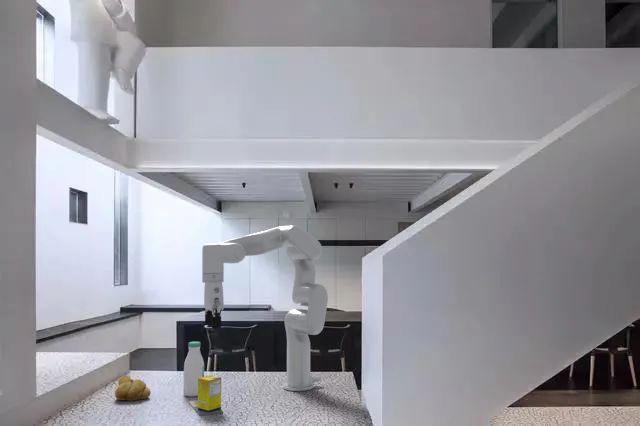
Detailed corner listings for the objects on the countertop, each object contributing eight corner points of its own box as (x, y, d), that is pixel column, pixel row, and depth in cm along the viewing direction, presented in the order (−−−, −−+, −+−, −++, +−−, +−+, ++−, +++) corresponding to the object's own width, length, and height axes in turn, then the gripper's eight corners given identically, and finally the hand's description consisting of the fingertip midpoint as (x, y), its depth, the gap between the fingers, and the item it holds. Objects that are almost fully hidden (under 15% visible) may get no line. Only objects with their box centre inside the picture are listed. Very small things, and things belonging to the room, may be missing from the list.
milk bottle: (198, 397, 208) (199, 344, 210) (179, 396, 210) (180, 343, 211) (207, 392, 216) (207, 341, 217) (188, 391, 217) (189, 340, 219)
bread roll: (154, 396, 211) (154, 375, 211) (143, 403, 201) (144, 380, 202) (121, 395, 212) (122, 374, 213) (109, 402, 202) (110, 380, 203)
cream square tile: (210, 400, 205) (210, 398, 205) (215, 405, 197) (215, 404, 197) (189, 402, 201) (189, 401, 201) (193, 408, 194) (193, 406, 194)
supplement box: (210, 406, 195) (210, 374, 196) (221, 409, 191) (222, 377, 192) (196, 409, 190) (197, 377, 191) (208, 413, 186) (208, 380, 187)
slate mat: (217, 406, 196) (217, 405, 196) (222, 412, 189) (222, 411, 189) (194, 409, 193) (194, 407, 193) (199, 415, 185) (199, 413, 185)
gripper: (230, 279, 191) (230, 328, 190) (216, 276, 206) (216, 322, 205) (208, 279, 188) (208, 330, 187) (196, 277, 203) (196, 324, 202)
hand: (212, 326), depth 196 cm, fingers open, 9 cm apart
